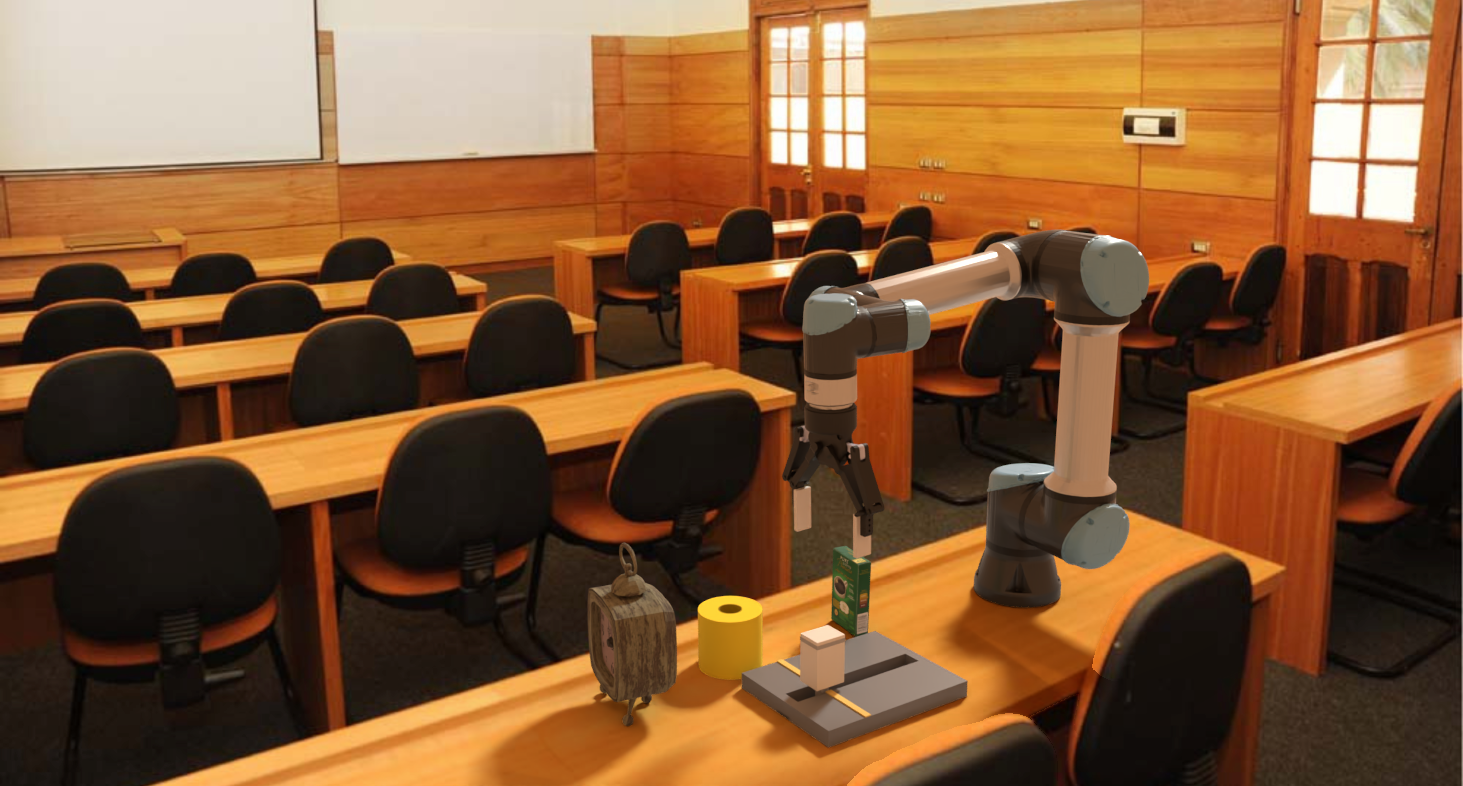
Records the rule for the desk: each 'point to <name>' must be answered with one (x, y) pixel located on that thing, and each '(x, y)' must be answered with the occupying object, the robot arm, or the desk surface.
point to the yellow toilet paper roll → (730, 636)
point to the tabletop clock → (631, 638)
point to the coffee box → (850, 591)
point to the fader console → (857, 690)
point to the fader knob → (822, 658)
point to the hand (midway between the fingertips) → (831, 542)
